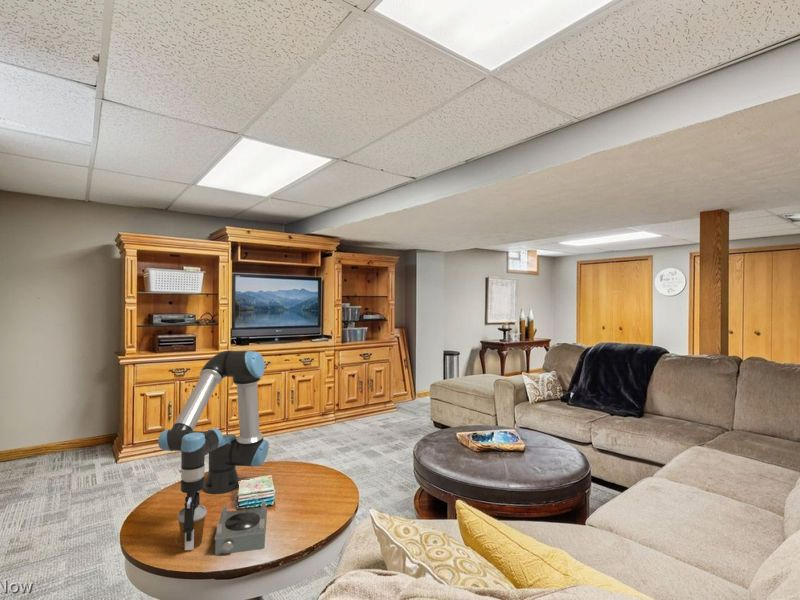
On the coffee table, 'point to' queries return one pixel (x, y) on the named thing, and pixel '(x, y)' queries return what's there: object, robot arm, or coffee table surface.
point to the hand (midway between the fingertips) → (191, 542)
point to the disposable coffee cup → (198, 525)
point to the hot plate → (241, 530)
